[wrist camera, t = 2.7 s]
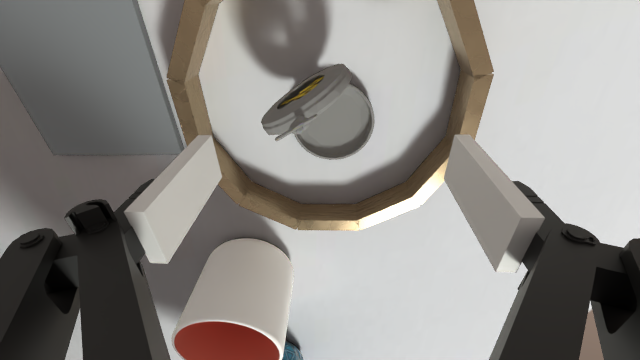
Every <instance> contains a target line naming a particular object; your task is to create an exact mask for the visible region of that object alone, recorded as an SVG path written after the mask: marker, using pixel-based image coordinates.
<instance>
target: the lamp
mask: <svg viewBox="0 0 640 360" xmlns="http://www.w3.org/2000/svg"><path fill="white" fill-rule="evenodd" d="M282 360H303V357H302V354H301V353H300V351H299V350H298V348H297V347H296V346H295V345H293V344H292V343H290V342H287V341H285V346H284V353H283V358H282Z"/></svg>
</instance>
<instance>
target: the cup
mask: <svg viewBox="0 0 640 360" xmlns="http://www.w3.org/2000/svg"><path fill="white" fill-rule="evenodd" d="M293 281H294V270H293V266H292V264H291V262H290V260H289V258H288V257H287V256H286V255H285V254H284V253H283V252H282V251H281V250H280V249H279V248H277V247H276V246H274V245H272V244H270V243H268V242H265V241H262V240H258V239H251V238H240V239H234V240H230V241H227V242H225V243H223V244H221V245H220V246H218V247H217V248H216V249H215V250H214V251H213V252H212V253H211V254H210V256H209V258H208V260H207V262H206V264H205V266H204V268H203V270H202V272H201V275H200V277H199V279H198V281H197V283H196V285H195V287H194V289H193V292H192V294H191V296H190V298H189V300H188V302H187V304H186V306H185V309H184V311H183V313H182V315H181V317H180V319H179V321H178V323H177V325H176V328H175V330H174V332H173V334H172V345H173V347H174V349H175V351H176V352H177V353H178V355H179V356H180V357H182V358H183V359H184V360H282V358H283V353H284V346H285V339H286V332H287V324H288V317H289V310H290V303H291V296H292V288H293Z"/></svg>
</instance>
